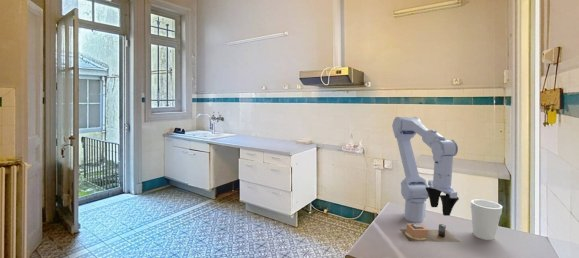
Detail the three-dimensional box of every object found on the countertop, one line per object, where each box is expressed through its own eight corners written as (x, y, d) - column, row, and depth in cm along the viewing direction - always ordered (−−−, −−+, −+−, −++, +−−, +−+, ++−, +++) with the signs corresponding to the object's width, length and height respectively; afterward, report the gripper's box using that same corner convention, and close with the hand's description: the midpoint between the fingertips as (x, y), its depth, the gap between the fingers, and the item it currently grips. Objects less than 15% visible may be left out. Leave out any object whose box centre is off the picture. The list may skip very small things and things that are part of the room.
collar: (406, 231, 107) (406, 223, 107) (419, 231, 107) (420, 223, 107) (413, 238, 102) (413, 230, 102) (427, 237, 102) (427, 229, 102)
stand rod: (439, 233, 106) (439, 223, 106) (445, 235, 105) (446, 225, 104) (437, 235, 105) (438, 225, 104) (444, 237, 103) (444, 227, 103)
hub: (401, 230, 108) (401, 220, 108) (420, 230, 109) (421, 220, 108) (411, 240, 101) (411, 230, 100) (432, 239, 101) (432, 229, 101)
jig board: (446, 232, 109) (446, 230, 109) (460, 244, 100) (460, 241, 100) (399, 231, 109) (399, 229, 109) (408, 243, 100) (409, 240, 100)
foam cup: (496, 235, 107) (499, 202, 106) (502, 247, 99) (505, 210, 98) (466, 230, 111) (469, 197, 110) (469, 240, 103) (472, 205, 102)
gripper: (421, 169, 109) (419, 203, 110) (443, 179, 95) (441, 219, 96) (439, 169, 109) (436, 203, 111) (464, 179, 95) (461, 219, 96)
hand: (440, 210), depth 103 cm, fingers open, 7 cm apart
